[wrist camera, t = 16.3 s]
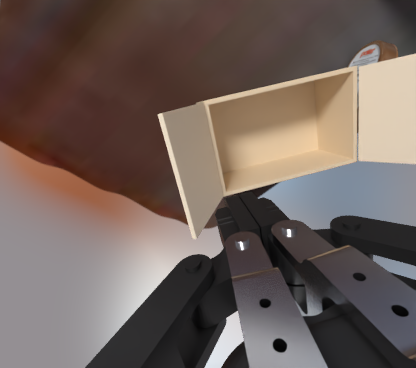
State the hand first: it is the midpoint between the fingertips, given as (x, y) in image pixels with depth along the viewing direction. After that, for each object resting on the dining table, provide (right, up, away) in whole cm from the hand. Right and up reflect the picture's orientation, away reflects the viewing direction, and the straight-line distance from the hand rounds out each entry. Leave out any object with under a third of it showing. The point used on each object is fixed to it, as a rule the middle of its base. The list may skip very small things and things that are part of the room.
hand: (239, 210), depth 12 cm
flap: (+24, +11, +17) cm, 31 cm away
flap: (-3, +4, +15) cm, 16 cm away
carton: (+8, +12, +30) cm, 34 cm away
